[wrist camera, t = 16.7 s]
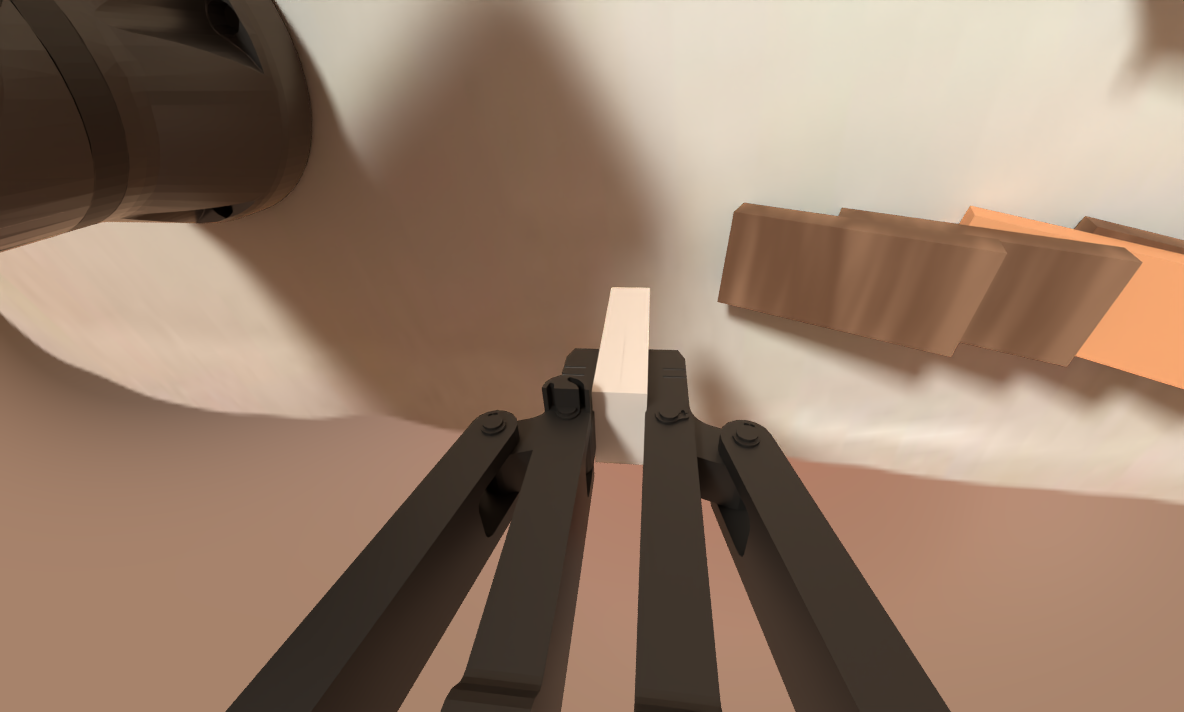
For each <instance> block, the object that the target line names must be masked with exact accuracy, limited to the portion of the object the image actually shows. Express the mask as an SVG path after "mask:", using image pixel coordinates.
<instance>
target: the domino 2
mask: <svg viewBox="0 0 1184 712" xmlns="http://www.w3.org/2000/svg"><path fill="white" fill-rule="evenodd" d="M839 216H840V217H847V218H854V219H861V220H868V221H875V222H882V223H889V224H896V225H903V226H910V227H917V228H924V229H931V230H938V231H945V232H952V233H959V234H966V235H973V236H980V237H987V238H994V239H999V240H1000V242H1001V243H1002V245H1003V247H1004V249H1005V251H1006V252H1007V255H1006V256H1005V258H1004V260H1003V262H1002V264H1001V266H1000V268H999V269H998V271H997V273H996V275H995V277H994V279H993V281H992V282H991V284H990V286H989V288H988V290H987V292H986V294H985V295H984V297H983V299H982V301H981V303H980V305H979V307H978V308H977V310H976V312H975V314H974V316H973V318H972V320H971V321H970V323H969V325H968V327H967V329H966V331H965V333H964V334H963V336H962V338H961V340H960V343H964V344H969V345H973V346H978V347H982V348H986V349H991V350H995V351H999V352H1004V353H1008V354H1012V355H1017V356H1021V357H1026V358H1030V359H1034V360H1039V361H1043V362H1047V363H1052V364H1056V365H1060V366H1065V367H1067V366H1068V365H1069V363H1070V362H1071V361H1072V359H1073V358H1074V357H1075V355H1076V354H1077V352H1078V351H1079V350H1080V348H1081V347H1082V346H1083V344H1084V343H1085V341H1086V340H1087V339H1088V337H1089V336H1090V335H1091V333H1092V332H1093V330H1094V329H1095V328H1096V326H1097V325H1098V324H1099V322H1100V321H1101V319H1102V318H1103V317H1104V315H1105V314H1106V313H1107V311H1108V310H1109V308H1110V307H1111V306H1112V304H1113V303H1114V302H1115V300H1116V299H1117V297H1118V296H1119V295H1120V293H1121V292H1122V291H1123V289H1124V288H1125V286H1126V285H1127V284H1128V282H1129V281H1130V280H1131V278H1132V277H1133V275H1134V274H1135V273H1136V271H1137V270H1138V269H1139V267H1140V266H1141V264H1142V263H1143V262H1142V261H1140V260H1139V259H1138V258H1137V257H1135V256H1134V255H1133V254H1132V253H1131V252H1129V251H1128V250H1127V249H1126V248H1124V247H1118V246H1110V245H1103V244H1096V243H1089V242H1082V241H1075V240H1068V239H1061V238H1054V237H1046V236H1039V235H1032V234H1025V233H1018V232H1011V231H1004V230H997V229H990V228H983V227H975V226H968V225H961V224H954V223H947V222H940V221H933V220H926V219H919V218H912V217H904V216H897V215H890V214H883V213H876V212H869V211H862V210H855V209H848V208H842V209H841V211H840V214H839Z"/></svg>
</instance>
